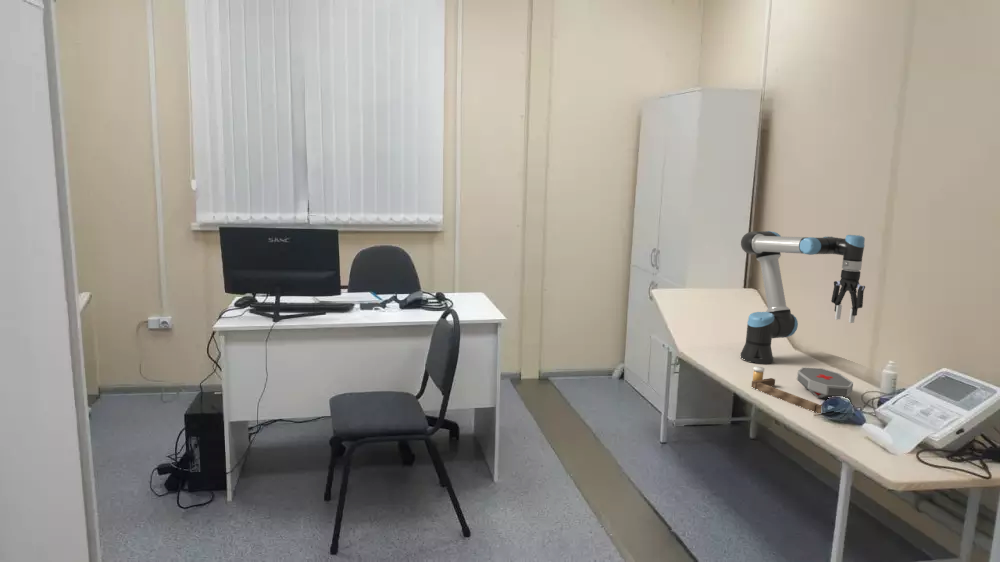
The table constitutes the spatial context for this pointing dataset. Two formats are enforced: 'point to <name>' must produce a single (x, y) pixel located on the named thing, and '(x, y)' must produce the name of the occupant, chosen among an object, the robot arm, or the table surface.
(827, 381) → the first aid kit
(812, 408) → the brown piece
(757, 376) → the pill bottle
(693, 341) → the table surface
